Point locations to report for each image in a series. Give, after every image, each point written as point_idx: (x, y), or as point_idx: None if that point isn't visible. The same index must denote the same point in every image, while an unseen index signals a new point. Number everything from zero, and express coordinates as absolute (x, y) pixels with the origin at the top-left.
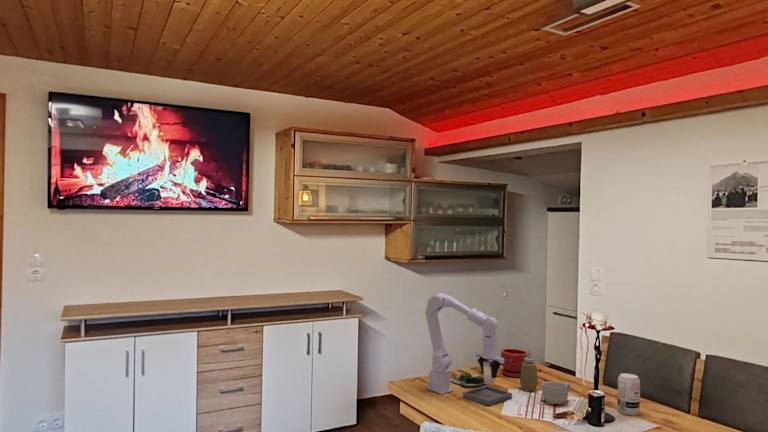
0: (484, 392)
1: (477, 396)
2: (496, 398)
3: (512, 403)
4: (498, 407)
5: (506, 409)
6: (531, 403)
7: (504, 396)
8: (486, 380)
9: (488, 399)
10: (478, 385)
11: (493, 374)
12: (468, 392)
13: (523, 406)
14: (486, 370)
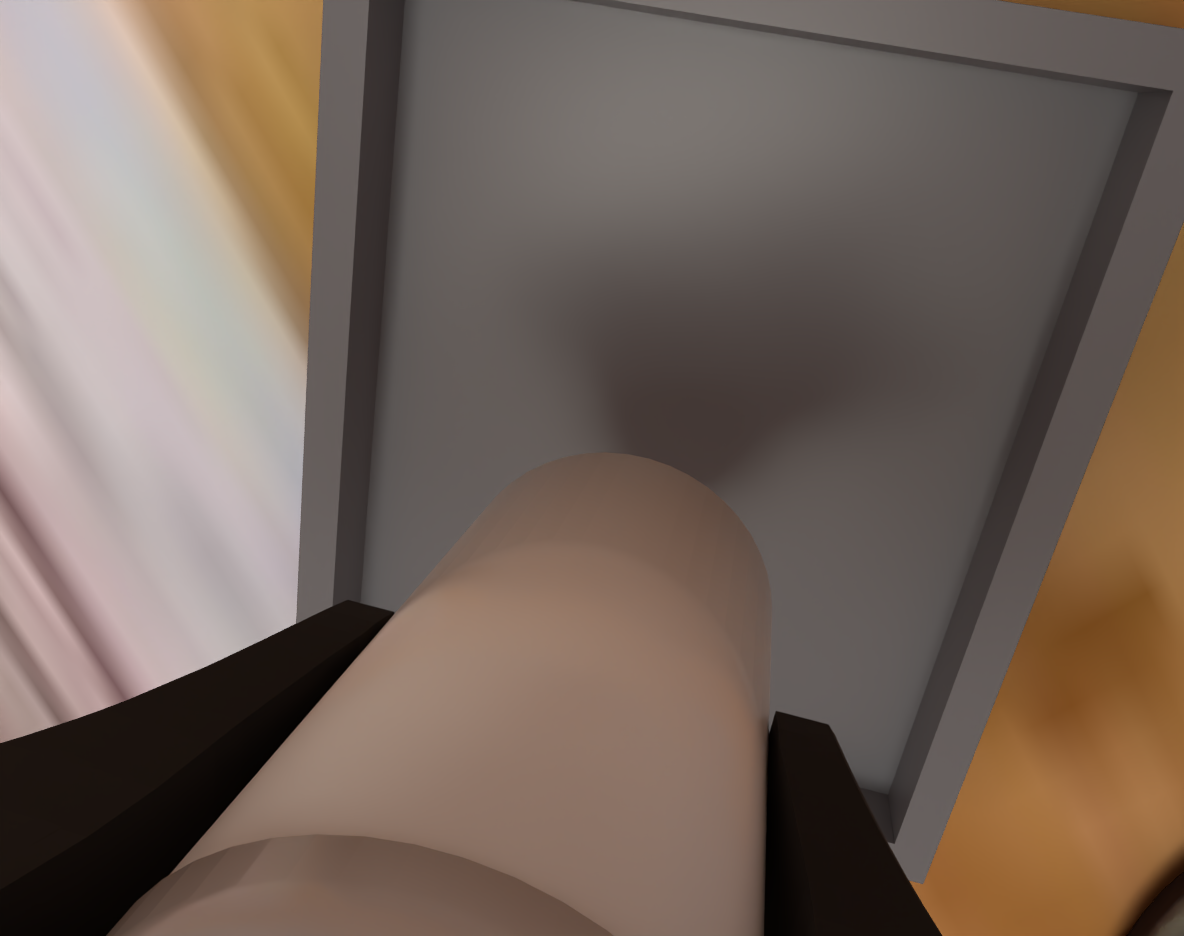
0: (840, 604)
1: (718, 1)
2: (317, 229)
3: (207, 450)
4: (237, 56)
5: (79, 63)
6: (35, 629)
7: (309, 493)
8: (585, 495)
9: (545, 237)
10: (1154, 929)
11: (246, 662)
12: (1117, 211)
13: (15, 426)
14: (458, 677)
